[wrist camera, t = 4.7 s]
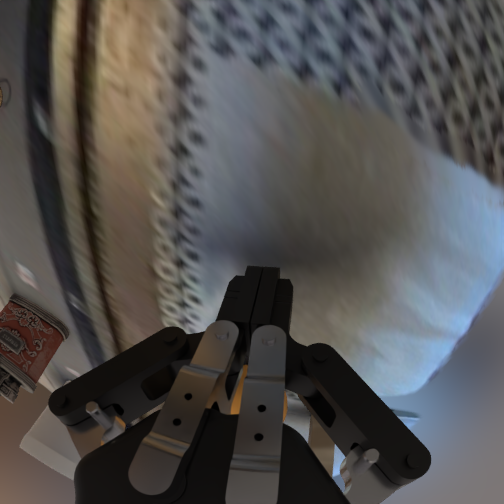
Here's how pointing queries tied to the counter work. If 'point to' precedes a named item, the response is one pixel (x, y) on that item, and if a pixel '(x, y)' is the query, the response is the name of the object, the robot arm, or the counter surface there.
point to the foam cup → (52, 444)
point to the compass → (0, 96)
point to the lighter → (26, 344)
